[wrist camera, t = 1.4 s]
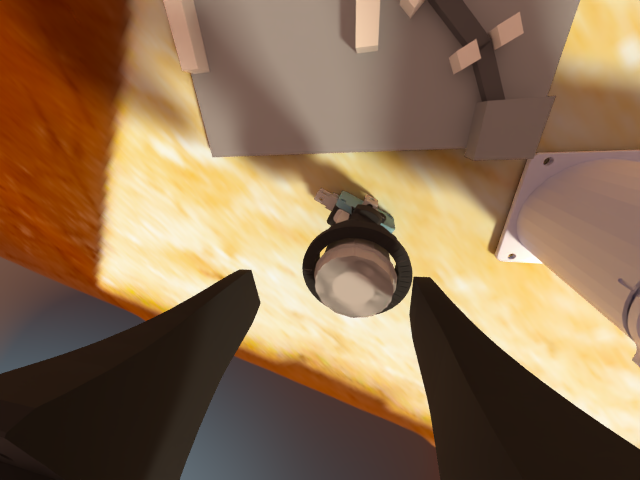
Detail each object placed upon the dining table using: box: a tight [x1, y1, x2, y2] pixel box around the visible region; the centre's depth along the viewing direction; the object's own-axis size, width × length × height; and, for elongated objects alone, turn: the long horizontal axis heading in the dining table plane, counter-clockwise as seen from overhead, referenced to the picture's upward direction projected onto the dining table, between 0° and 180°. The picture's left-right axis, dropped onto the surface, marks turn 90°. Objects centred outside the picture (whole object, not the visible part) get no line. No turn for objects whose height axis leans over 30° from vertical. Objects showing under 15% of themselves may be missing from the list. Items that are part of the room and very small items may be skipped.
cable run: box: [399, 0, 556, 160], centre depth 12 cm, size 4×11×2 cm, turn 35°
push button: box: [302, 188, 412, 318], centre depth 15 cm, size 7×5×10 cm
